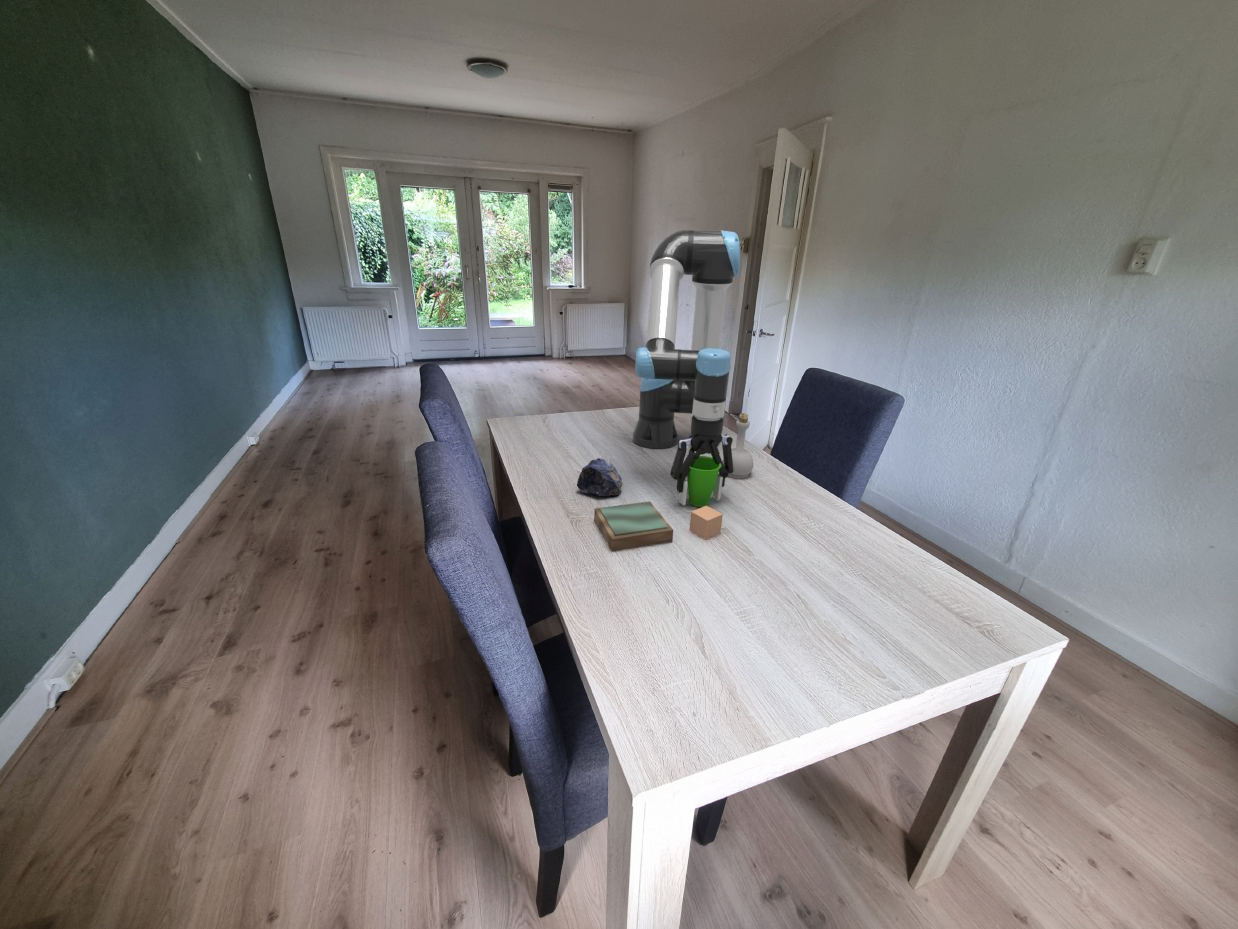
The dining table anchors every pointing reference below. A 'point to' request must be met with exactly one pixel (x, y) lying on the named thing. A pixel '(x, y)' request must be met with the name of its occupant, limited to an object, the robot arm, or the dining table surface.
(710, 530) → the terracotta block
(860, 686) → the dining table surface
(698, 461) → the cup
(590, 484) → the rock
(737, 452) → the potion bottle
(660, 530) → the tray
